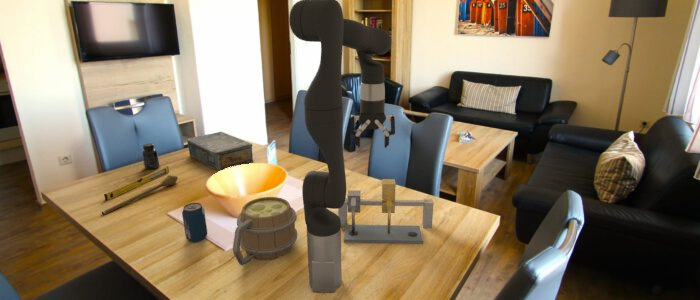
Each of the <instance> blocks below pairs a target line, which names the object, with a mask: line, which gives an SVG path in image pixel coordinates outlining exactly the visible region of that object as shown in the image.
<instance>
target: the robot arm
mask: <svg viewBox="0 0 700 300" xmlns="http://www.w3.org/2000/svg"><path fill="white" fill-rule="evenodd" d="M343 12H344V11H343V8H342V6H341V4H340V2H339V1H338V0H299V1H298V0H297V2H295V3H294V4H293V5H292V7H291V8H290V12H289V18H288V19H289V26H290V30H291V32H292V33H293V35H294V36H295V37H296V38H297V39H299V40H301V41H304V42H311V43H312V42H314V43H320V60H319V65H318V69H317V71H316V73H315V75H314V77H313V79H312V81H311V82H310V85H309V86H308V89H306V90H307V91H306V92H305V94H304V99H303V106H304V107H303V108H304V123H305V127H306V130H307V132H308V134H309V135H310V137H311V139H312V140H313V142H314V143H315V144H316V146H317V147H318V149H319V150H320V152H321V153H322V155H323V158H324V159H325V163H326V165H327V169H328V171H318V170H310V171H308V172H307V173H306V174H305V176H304V178H303V181H302V190H301V191H302V203H303V212H304V221H305V224H306V241H307V247H306V248H307V261H308V262H307V265H308V266H307V267H308V283H309V284H308V285H309V286H310V288H311V289H312V292H314V293H315V292H316V293H336V290H337V289H338V288H340V286H341V284H342V283H343V281H342V279H343V276H342V274H343V273H342V269H343V268H342V227H341V220H340V218H339V216H338V214H337V213H335V212H334V211H332V210H333V209H335V210H338V209H339V208H341V207H342V206H343V204H344V202H345V199H346V198H347V179H346V177H347V176H346V169H345V168H346V167H345V159H344V157H345V155H344V142H343V141H344V140H343V138H344V137H343V135H344V134H343V130H344V129H343V128H344V127H343V126H344V125H343V124H344V122H343V121H344V116H343V115H344V113H343V107H344V106H343V91H342V89H343V87H342V85H343V83H342V82H343V81H342V65H343V63H342V62H343V61H342V60H343V59H342V58H343V49H344V48H343V47H345V48H346V47H347V48H348V49H353V50H355V52H356V55H357V59H358V62H359V66H360V78H361V79H360V89H359V92H360V93H359V96H360V97H359V98H360V99H359V101H360V102H359V104H360V105H359V106H360V110H359V112H360V113H359V115H355V114H354V113H353V114H350V120H349V122H350V123H349V134H350V135H351V136H352V135H353V136H354V137H355V145H356V147H357V148H361V134H362V133H363V132H364V130H379V129H380V130H381V132H382V133H383V134H384V137H383V138H384V143H383V144H384V148H386V149H387V147H388V146H390V136H392V135H393V136H394V135H396V118H395V115H394V114H389V115H386V114H385V111H386V110H385V107H386V106H385V101H386V97H385V96H386V90H385V89H386V87H385V65H384V64H383V63H381V62H379V61H376V60H374V59H373V58H372V56H371V55H377V56H379V55H380V56H381V55H385V54H386V53H388V52H389V51H390V49H391V46H392V37H391V35H390V33H389V32H388V31H387V30H386V29H382V28H378V27H371V26H367V25H365V24H364V23H362V22H359V21H356V20H353V19H349V18H348V19H347V18H344V13H343ZM386 120H387V122H388V123H390V129H387V127H386V126H385V124H384V123H385V122H386ZM357 121H359V122H360V123H361V124H360V125H359V127H358V128H357V129H355V124H356V123H357ZM329 209H332V210H329Z"/></svg>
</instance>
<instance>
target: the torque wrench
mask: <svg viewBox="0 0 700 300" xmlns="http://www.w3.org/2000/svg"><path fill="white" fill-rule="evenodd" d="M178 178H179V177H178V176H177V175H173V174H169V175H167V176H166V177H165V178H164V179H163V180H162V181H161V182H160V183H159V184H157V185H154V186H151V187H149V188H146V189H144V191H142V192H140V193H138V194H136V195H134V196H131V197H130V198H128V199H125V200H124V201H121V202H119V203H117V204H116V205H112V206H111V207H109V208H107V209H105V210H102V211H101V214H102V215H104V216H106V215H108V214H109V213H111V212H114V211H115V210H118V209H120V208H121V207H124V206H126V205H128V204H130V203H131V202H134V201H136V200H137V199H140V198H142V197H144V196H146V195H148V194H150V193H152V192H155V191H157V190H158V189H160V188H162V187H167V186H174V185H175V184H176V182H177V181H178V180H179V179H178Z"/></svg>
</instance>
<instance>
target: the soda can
mask: <svg viewBox="0 0 700 300" xmlns="http://www.w3.org/2000/svg"><path fill="white" fill-rule="evenodd" d="M182 209H183V210H182V213H181V214H182V221H183V228H184V235H185V238H186V240H187V241H188V242H189V243H194V244H197V243H201V242H203V241H204V240H205V239H206V238H207V236H208V228H207V220H206V213H205V212H206V211H205V208H204V207H203V205H202V204H201V203H200V202H191V203H187V204H185V205H184V206H183V208H182Z"/></svg>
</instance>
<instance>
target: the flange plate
mask: <svg viewBox="0 0 700 300" xmlns="http://www.w3.org/2000/svg"><path fill="white" fill-rule="evenodd" d="M387 225H388V224H355V233H352V224H347V225H345V227H344V233H343V243H345V244H348V243H350V244H351V243H353V244H396V245H397V244H399V245H400V244H401V245H403V244H404V245H405V244H406V245H408V244H409V245H410V244H411V245H423V244H424V241H423V236H422V230H421V227H420V225H406V224H405V225H404V224H403V225H402V224H401V225H397V224H395V225H394V224H393V225H392V224H391V225H390V234H388V233H387Z"/></svg>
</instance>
